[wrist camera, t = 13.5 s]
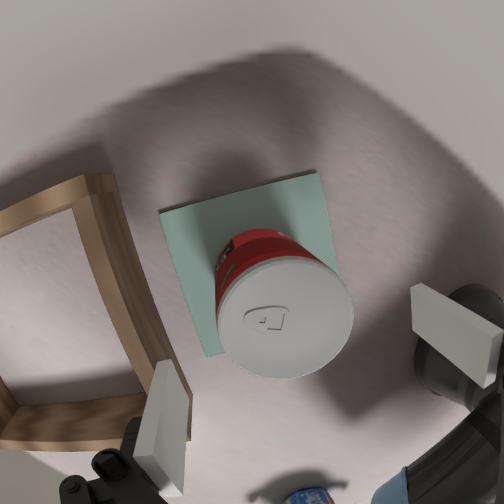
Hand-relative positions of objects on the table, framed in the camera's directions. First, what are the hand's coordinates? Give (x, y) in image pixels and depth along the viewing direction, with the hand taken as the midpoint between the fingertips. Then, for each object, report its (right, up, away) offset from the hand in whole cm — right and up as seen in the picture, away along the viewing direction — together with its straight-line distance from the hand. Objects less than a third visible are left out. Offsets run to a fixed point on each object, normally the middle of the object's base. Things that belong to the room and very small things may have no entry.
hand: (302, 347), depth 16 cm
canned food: (-2, +3, +13) cm, 13 cm away
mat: (-2, +3, +13) cm, 14 cm away
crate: (-24, -3, +12) cm, 27 cm away
